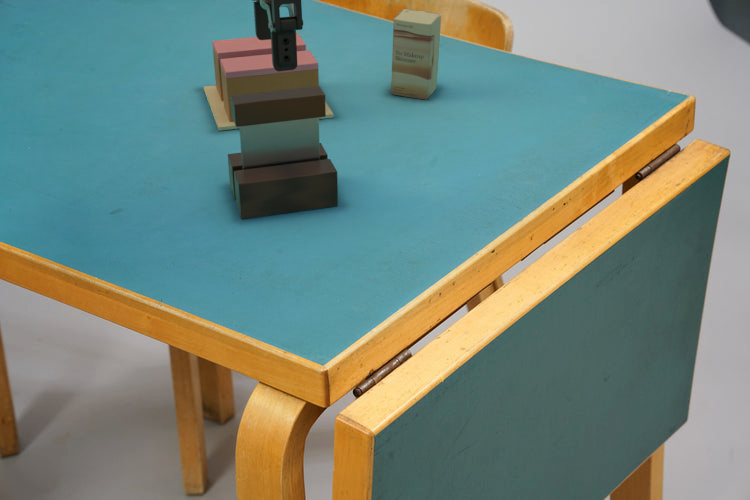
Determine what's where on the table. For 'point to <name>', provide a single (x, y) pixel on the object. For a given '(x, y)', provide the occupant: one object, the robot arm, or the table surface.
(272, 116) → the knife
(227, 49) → the pink slotted holder
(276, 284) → the table surface
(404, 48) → the cosmetic box
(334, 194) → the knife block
